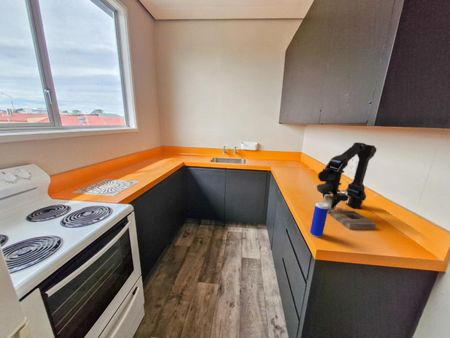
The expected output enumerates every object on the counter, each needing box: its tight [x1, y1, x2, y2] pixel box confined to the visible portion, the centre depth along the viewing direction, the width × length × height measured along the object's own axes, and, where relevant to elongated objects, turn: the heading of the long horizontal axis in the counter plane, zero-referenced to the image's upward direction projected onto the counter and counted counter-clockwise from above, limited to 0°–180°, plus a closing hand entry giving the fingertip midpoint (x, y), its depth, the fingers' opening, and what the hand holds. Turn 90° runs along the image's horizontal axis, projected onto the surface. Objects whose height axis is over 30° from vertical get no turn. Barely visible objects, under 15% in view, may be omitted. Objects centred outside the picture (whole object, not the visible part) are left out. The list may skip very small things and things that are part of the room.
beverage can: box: [309, 201, 328, 238], centre depth 81 cm, size 5×5×15 cm
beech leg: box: [322, 194, 335, 214], centre depth 105 cm, size 6×6×10 cm
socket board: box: [329, 209, 377, 230], centre depth 96 cm, size 14×14×3 cm
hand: (328, 205), depth 105 cm, fingers closed on beech leg, 6 cm apart
